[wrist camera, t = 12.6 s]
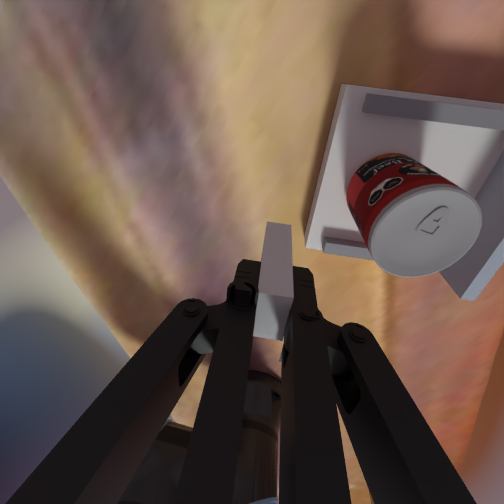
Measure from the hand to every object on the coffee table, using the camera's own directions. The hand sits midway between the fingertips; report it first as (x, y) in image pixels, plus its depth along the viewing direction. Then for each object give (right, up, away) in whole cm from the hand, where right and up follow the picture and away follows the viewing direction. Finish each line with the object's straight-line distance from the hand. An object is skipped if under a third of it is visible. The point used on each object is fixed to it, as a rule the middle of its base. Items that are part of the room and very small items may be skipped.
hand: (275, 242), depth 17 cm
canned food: (+13, +6, +13) cm, 19 cm away
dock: (+16, +8, +15) cm, 23 cm away
